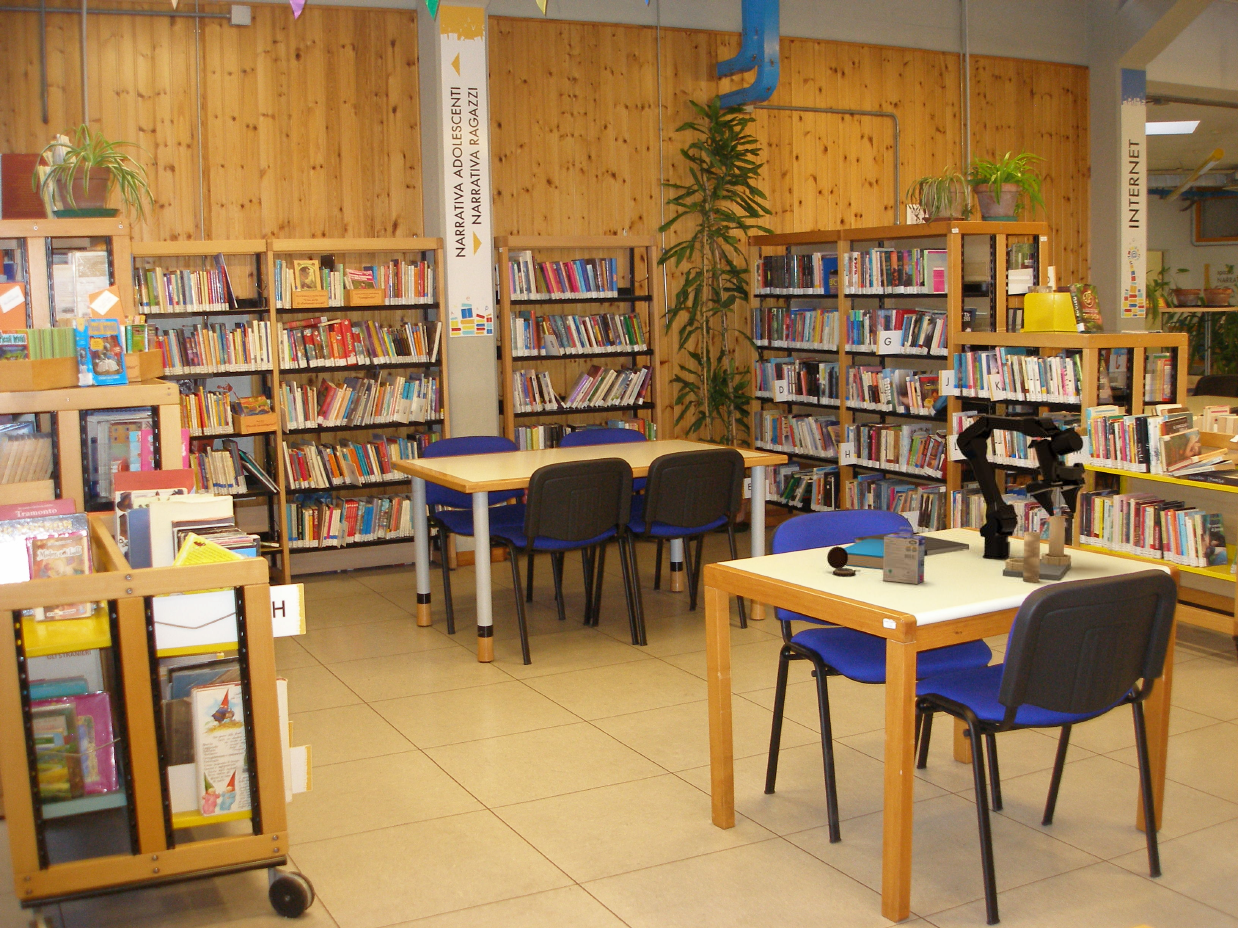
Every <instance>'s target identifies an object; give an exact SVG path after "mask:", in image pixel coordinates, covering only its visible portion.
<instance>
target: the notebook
mask: <svg viewBox="0 0 1238 928" xmlns="http://www.w3.org/2000/svg"><path fill="white" fill-rule="evenodd" d="M898 532H899V531H897V532H890V533H881V534H875V535H874V534H873V535H866V536H858V537H854V541H855V542H854V544H856V543H858V542H861V541H863V540H866V539H879V540H884V537H885V536H887V535H889V534H894V535H898ZM912 536H924V537H925V553H924V557H926V556H932V555H938V554H947V553H952V551H953V552H957V551H956V550H960V551H964V550H963V549H966V550H970V544H968V543H964V542H959V541H953V540H948V539H944V538H943V539H942V538H938V537H937V538H936V537H933V536H927V535H922V534H921V535H920V534H916V533H915V534H914V533H912ZM946 552H947V553H946Z"/></svg>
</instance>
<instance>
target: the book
mask: <svg viewBox="0 0 1238 928" xmlns="http://www.w3.org/2000/svg"><path fill="white" fill-rule="evenodd" d="M843 548H844V549H845V550H846V551H847V553H848V562H847V564H846V566H848V567H855V566H858V567H857V568H864V567H865V568H866V569H867V568H868V569H873V568H874V569H873V570H882V569H883V558H884V540H879V539H866V540H863V541H861V542H858V543H856V544H855V543H853V544H851V545H848V546H845V547H843ZM846 566H845V567H846Z"/></svg>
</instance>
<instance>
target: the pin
mask: <svg viewBox="0 0 1238 928" xmlns="http://www.w3.org/2000/svg"><path fill="white" fill-rule="evenodd" d="M1023 535H1024V536H1023V540H1024V541H1023V557H1024V562H1023V577H1022V581H1023V582H1026V583H1040V579H1039V561H1040V559H1041V558H1040V556H1041V555H1040V554H1041V553H1040V552H1041V532H1038V531H1025V532H1024V533H1023Z"/></svg>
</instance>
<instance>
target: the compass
mask: <svg viewBox="0 0 1238 928" xmlns="http://www.w3.org/2000/svg"><path fill="white" fill-rule="evenodd" d="M844 548H845V547H841V546H838V545H837V546H833V547H832V548H830V550H829V551H828V553H827V556H826V560H827V563H828V565H829V567H831V568H833V570H832V574H833V575H834V576H837V577H853V576H856V572H857V573H858V572H861V571H862V570H861V569H858V570H857V569H853V568H850V567H846V566H845V565H846V564H847V562H848V553H847V551H846V550H845V549H844Z"/></svg>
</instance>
